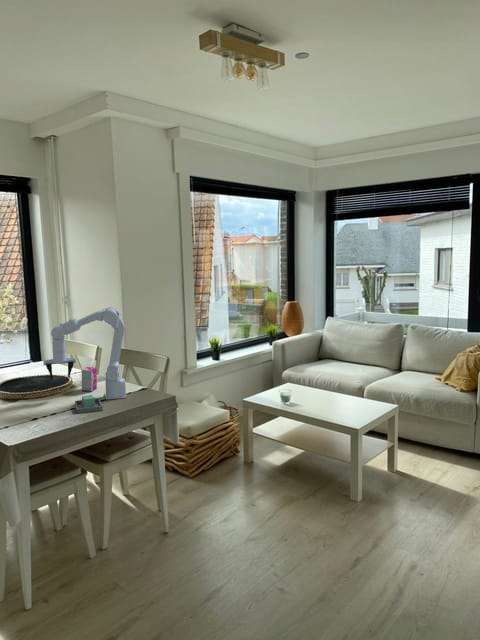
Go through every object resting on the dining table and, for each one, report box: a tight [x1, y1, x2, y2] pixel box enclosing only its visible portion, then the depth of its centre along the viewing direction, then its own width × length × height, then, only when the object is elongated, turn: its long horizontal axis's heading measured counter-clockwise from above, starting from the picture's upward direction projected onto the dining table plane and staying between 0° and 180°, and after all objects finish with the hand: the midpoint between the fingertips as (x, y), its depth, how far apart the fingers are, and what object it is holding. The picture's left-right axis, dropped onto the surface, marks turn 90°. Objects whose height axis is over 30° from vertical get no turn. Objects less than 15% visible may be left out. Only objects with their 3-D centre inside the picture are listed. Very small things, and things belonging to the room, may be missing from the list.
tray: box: [74, 397, 104, 414], centre depth 225 cm, size 11×11×2 cm
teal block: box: [81, 394, 96, 408], centre depth 224 cm, size 4×4×4 cm
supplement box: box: [81, 366, 98, 393], centre depth 248 cm, size 6×6×12 cm
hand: (60, 378), depth 234 cm, fingers open, 7 cm apart
